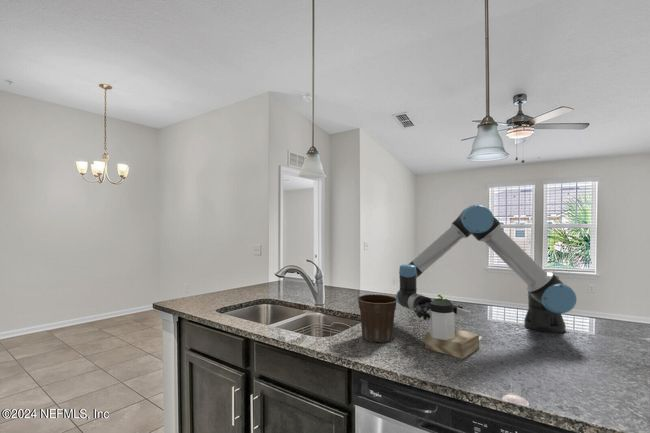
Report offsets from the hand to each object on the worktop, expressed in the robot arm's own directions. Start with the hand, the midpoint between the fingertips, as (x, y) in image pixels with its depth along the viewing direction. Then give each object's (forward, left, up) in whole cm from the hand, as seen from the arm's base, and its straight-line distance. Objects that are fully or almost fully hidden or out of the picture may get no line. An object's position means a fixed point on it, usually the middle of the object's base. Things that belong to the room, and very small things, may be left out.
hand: (454, 317), depth 120 cm
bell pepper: (+26, -40, -12) cm, 49 cm away
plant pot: (+28, +10, -12) cm, 32 cm away
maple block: (+2, -1, -12) cm, 12 cm away
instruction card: (+4, -15, -12) cm, 19 cm away
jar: (+3, +4, -7) cm, 9 cm away
